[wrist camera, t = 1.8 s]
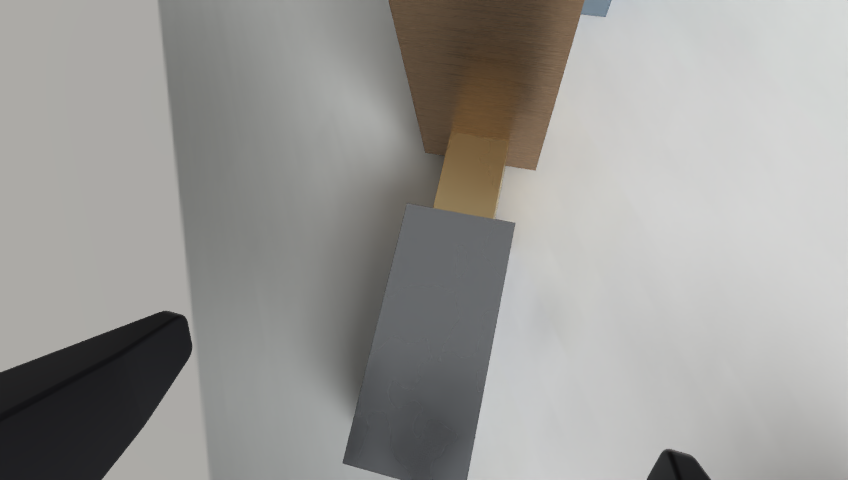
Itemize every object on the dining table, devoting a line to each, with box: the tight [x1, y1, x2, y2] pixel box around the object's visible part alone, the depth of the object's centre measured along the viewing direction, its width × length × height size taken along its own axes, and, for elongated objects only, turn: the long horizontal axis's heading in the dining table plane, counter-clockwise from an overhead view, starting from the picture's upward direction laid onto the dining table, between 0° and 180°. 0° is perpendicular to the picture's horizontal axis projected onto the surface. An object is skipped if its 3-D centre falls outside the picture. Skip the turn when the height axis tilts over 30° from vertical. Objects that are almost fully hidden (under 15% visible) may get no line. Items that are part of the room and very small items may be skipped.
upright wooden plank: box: [389, 0, 585, 219], centre depth 18 cm, size 20×6×11 cm, turn 167°
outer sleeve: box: [343, 203, 515, 480], centre depth 20 cm, size 10×4×5 cm, turn 167°
